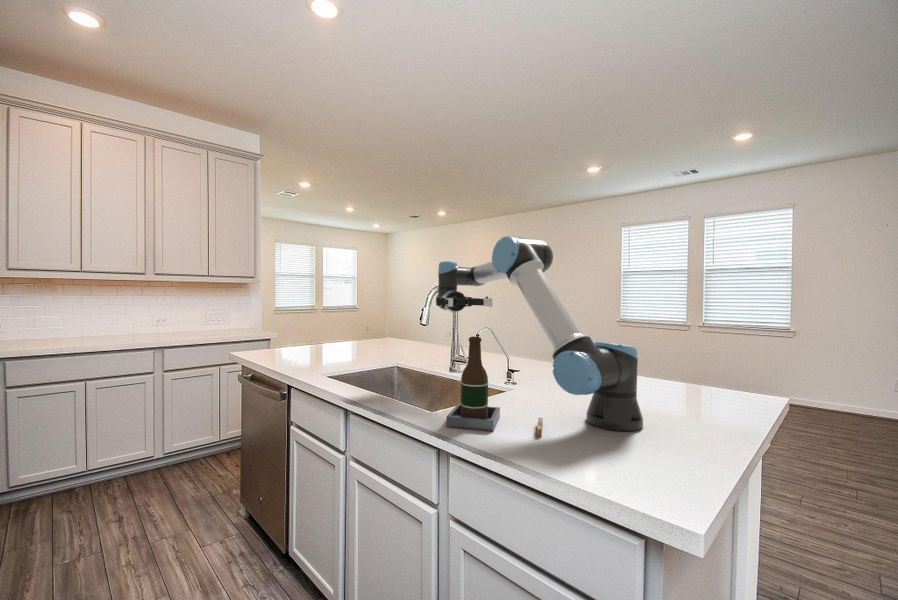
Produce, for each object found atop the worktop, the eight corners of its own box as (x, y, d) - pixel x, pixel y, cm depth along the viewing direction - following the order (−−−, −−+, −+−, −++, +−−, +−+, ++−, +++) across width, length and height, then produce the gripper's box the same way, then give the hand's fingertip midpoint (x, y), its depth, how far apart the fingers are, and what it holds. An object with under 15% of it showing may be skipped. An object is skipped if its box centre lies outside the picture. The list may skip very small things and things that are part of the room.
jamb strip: (538, 424, 114) (538, 417, 114) (542, 425, 114) (542, 418, 114) (536, 436, 105) (536, 429, 105) (541, 437, 104) (541, 429, 104)
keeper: (499, 417, 121) (499, 407, 121) (493, 431, 108) (493, 420, 108) (457, 413, 124) (457, 404, 124) (446, 427, 111) (446, 416, 111)
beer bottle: (486, 425, 112) (487, 339, 111) (458, 423, 113) (459, 338, 113) (488, 417, 119) (489, 336, 119) (462, 415, 121) (463, 335, 120)
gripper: (484, 311, 156) (506, 313, 136) (421, 311, 149) (434, 314, 129) (485, 291, 156) (507, 291, 135) (421, 290, 149) (434, 290, 129)
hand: (471, 302), depth 132 cm, fingers open, 13 cm apart
